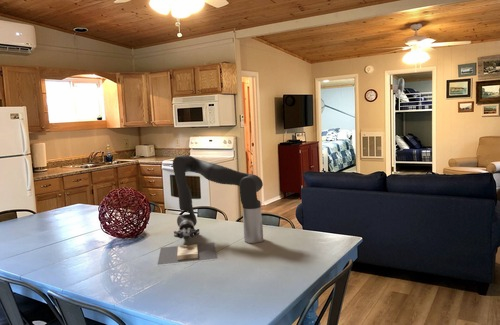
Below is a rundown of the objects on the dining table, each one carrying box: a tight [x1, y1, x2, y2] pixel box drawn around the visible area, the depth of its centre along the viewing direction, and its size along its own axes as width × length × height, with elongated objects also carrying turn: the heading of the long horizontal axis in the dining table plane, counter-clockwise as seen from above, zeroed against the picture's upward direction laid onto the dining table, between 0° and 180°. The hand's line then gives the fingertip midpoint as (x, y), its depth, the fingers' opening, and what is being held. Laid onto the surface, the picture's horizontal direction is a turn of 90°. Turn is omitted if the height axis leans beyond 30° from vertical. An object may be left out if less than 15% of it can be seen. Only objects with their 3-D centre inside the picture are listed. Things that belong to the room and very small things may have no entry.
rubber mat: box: [156, 242, 218, 267], centre depth 186 cm, size 26×24×1 cm
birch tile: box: [177, 243, 198, 260], centre depth 184 cm, size 9×2×14 cm
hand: (186, 237), depth 187 cm, fingers closed
